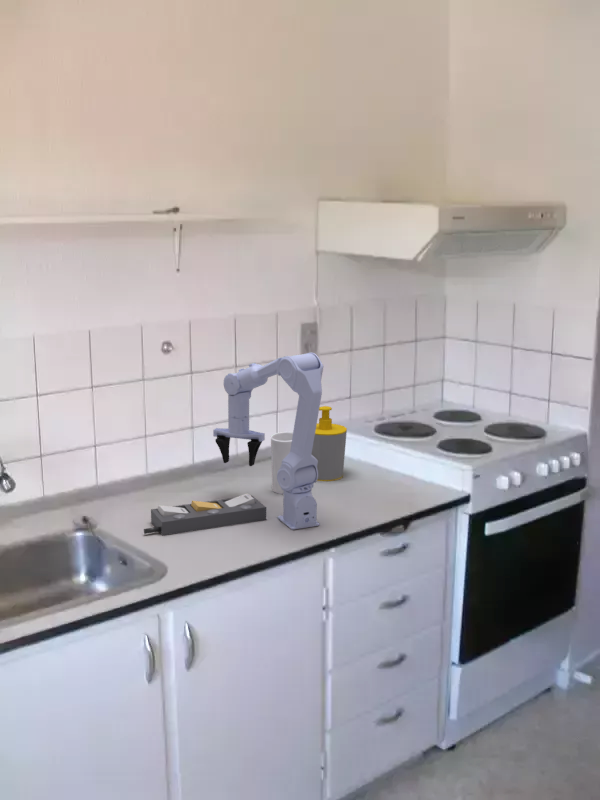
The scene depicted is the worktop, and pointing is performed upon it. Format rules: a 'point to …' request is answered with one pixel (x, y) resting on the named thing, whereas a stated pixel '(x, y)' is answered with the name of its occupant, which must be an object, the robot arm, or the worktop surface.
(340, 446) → the soap bottle
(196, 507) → the rocker mid
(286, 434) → the cup
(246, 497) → the rocker
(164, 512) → the block
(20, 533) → the worktop surface
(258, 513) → the power strip
